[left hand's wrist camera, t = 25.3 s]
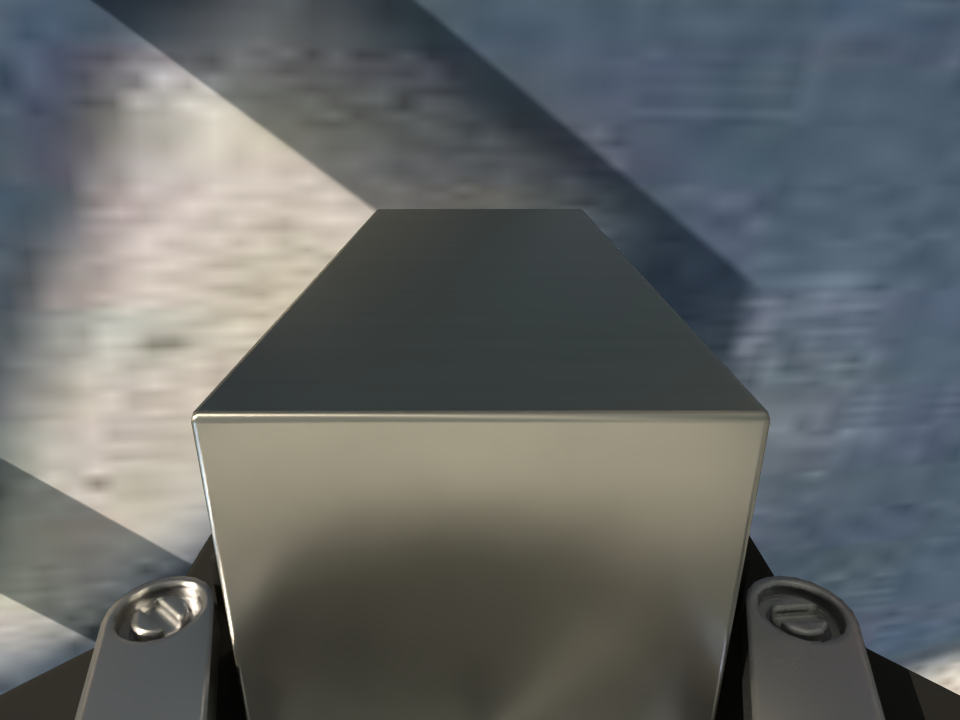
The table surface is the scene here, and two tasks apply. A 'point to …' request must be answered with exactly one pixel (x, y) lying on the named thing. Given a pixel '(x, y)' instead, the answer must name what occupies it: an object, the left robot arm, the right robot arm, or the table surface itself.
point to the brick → (480, 483)
